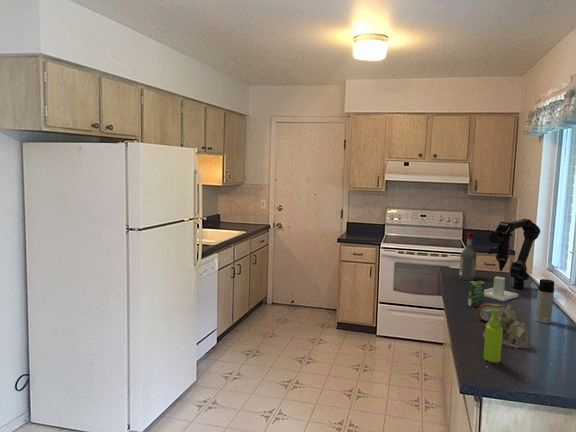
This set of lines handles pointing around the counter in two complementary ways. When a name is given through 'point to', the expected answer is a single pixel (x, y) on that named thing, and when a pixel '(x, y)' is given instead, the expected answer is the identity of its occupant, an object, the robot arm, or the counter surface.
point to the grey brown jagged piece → (512, 329)
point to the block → (499, 286)
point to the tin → (486, 315)
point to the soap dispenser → (493, 338)
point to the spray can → (544, 301)
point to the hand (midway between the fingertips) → (501, 270)
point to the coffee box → (476, 293)
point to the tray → (505, 297)
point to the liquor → (468, 261)
